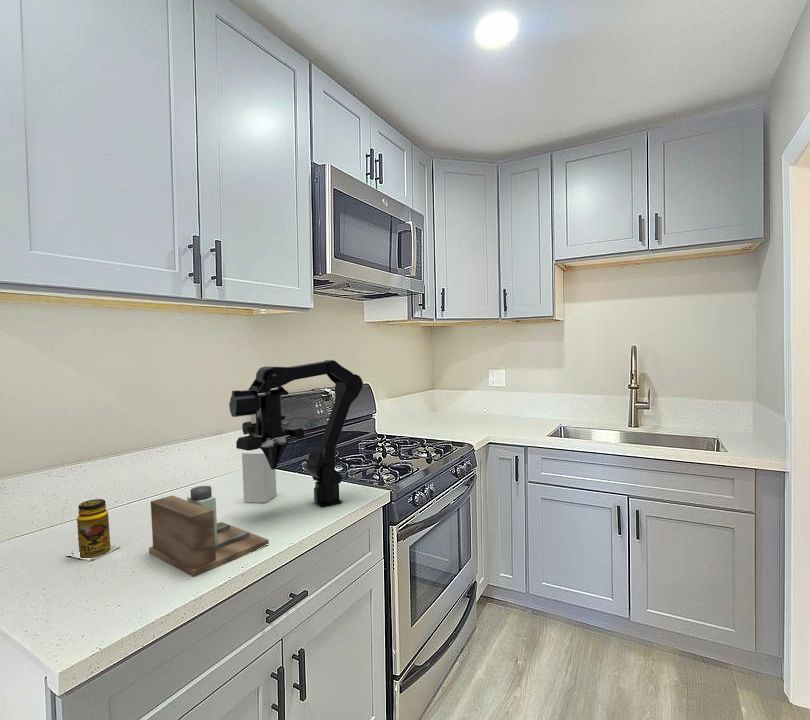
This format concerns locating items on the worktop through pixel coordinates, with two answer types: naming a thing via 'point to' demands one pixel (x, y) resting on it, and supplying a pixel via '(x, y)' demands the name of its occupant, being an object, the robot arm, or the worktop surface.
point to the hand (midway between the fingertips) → (273, 469)
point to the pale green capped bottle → (204, 501)
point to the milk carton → (257, 477)
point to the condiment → (93, 529)
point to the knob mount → (196, 536)
